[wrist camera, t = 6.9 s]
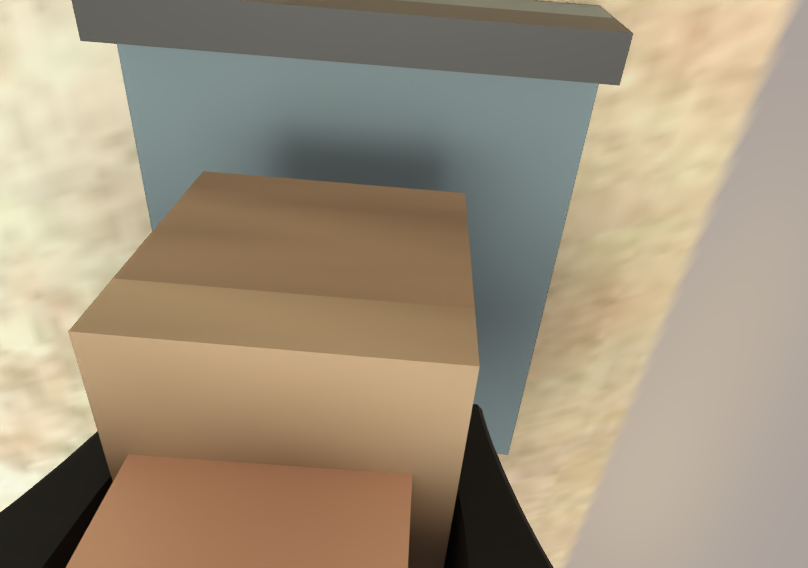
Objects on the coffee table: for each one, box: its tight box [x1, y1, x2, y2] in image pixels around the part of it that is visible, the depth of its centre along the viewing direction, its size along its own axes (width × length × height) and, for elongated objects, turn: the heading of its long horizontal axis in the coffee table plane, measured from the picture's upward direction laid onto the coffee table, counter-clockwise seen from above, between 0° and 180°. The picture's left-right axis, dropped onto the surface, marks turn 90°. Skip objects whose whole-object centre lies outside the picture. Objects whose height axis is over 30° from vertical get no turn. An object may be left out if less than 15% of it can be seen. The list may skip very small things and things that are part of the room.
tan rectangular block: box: [68, 171, 480, 568], centre depth 12 cm, size 8×5×5 cm, turn 176°
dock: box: [72, 0, 633, 455], centre depth 17 cm, size 14×11×3 cm
